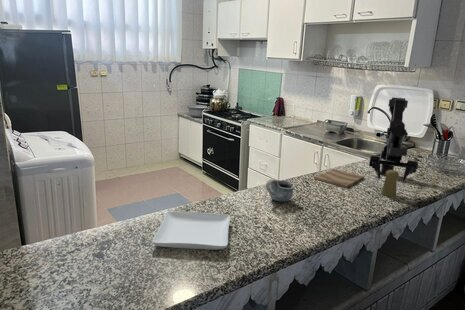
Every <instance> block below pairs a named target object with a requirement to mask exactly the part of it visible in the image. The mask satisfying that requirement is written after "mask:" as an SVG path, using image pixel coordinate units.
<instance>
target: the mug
mask: <svg viewBox="0 0 465 310" xmlns="http://www.w3.org/2000/svg"><path fill="white" fill-rule="evenodd" d="M265 188H266V191H267V192H268V193H269V194H268V195H269V197H270V198H271V199H272V200H274V201H275V202H277V203H286V202H288V201H290V200H291V198H292V197H293V193H294V192H293V191H294V188H295V184H294V183H293V182H292V181H289V180H283V179H281V180H278V179H276V178H273V177H272V178H268V180H267V181H266V183H265Z"/></svg>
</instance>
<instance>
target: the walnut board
mask: <svg viewBox="0 0 465 310" xmlns="http://www.w3.org/2000/svg"><path fill="white" fill-rule="evenodd" d="M364 179H365V175H360V174H356V173H352V172H348V171H345V170H341V169H337V168H333V169H330V170H327V171H325V172H323V173H321V174H317V175H316V176H314V180H316V181H320V182H324V183H326V184H330V185H333V186H338V187H341V188H345V189H348V188H350V187H352V186H353V185H355V184H357V183H358V182H361V181H363V180H364Z"/></svg>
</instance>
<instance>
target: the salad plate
mask: <svg viewBox="0 0 465 310" xmlns="http://www.w3.org/2000/svg"><path fill="white" fill-rule="evenodd" d="M230 222H231V215H230V214H224V213H212V212H197V211H195V212H193V211H173V210H172V211H171V210H170V211H167V212H166V214H165V216H164V217H163V219H162V222H161V223H160V225H159V228H158V229H157V231H156V233H155V234H154V237H153V238H152V241H151V242H152V244H153V245H155V246H157V247H161V248H162V247H163V248H175V249H176V248H177V249H191V250H192V249H193V250H212V251H213V250H215V251H216V250H224V249H225V248H227V247H228V245H229V229H230V228H229V227H230Z"/></svg>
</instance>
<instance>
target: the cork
mask: <svg viewBox="0 0 465 310" xmlns="http://www.w3.org/2000/svg"><path fill="white" fill-rule="evenodd" d="M384 176H385V179H384V183H383V185H382V188H381V191H380V195H381V196H383V197H385V196H386V198H390V197H391V199H393V197H394V198H396V197H397V179H398V178H399V176H400V175H399V171H397V170H387V171H386V172H385V175H384Z"/></svg>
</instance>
